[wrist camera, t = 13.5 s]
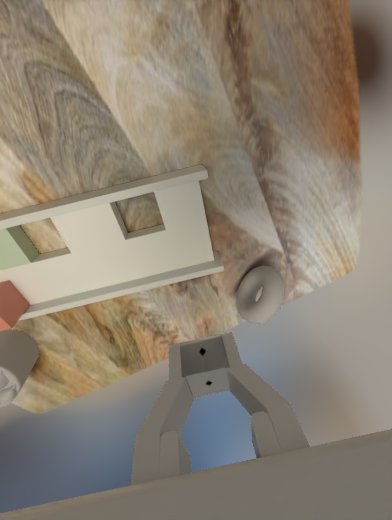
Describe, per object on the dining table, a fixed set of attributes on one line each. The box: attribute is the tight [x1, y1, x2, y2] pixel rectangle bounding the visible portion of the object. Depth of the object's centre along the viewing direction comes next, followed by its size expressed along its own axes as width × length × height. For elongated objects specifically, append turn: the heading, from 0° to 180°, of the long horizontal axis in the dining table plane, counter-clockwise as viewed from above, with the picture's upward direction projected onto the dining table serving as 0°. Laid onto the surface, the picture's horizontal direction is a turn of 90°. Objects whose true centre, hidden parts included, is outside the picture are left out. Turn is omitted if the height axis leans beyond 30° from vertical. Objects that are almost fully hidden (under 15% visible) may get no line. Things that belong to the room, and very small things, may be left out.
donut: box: [236, 266, 285, 324], centre depth 37 cm, size 10×4×10 cm, turn 150°
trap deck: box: [0, 164, 224, 321], centre depth 32 cm, size 15×38×4 cm, turn 102°
